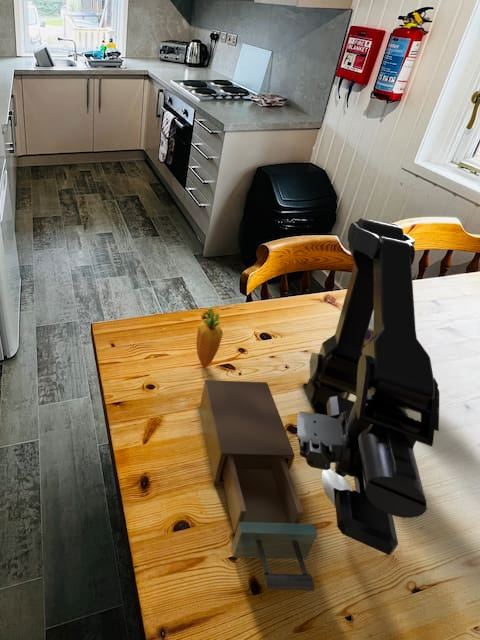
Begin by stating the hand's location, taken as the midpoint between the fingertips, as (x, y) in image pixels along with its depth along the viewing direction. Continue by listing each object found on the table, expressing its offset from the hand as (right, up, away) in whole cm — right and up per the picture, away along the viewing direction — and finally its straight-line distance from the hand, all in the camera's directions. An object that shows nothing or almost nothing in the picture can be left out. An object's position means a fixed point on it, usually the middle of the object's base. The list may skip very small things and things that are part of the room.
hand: (340, 497), depth 59 cm
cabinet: (-12, 0, +11) cm, 16 cm away
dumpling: (0, -1, +1) cm, 1 cm away
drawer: (-12, -4, -1) cm, 13 cm away
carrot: (-15, +6, +26) cm, 30 cm away
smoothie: (+20, +5, +27) cm, 34 cm away
